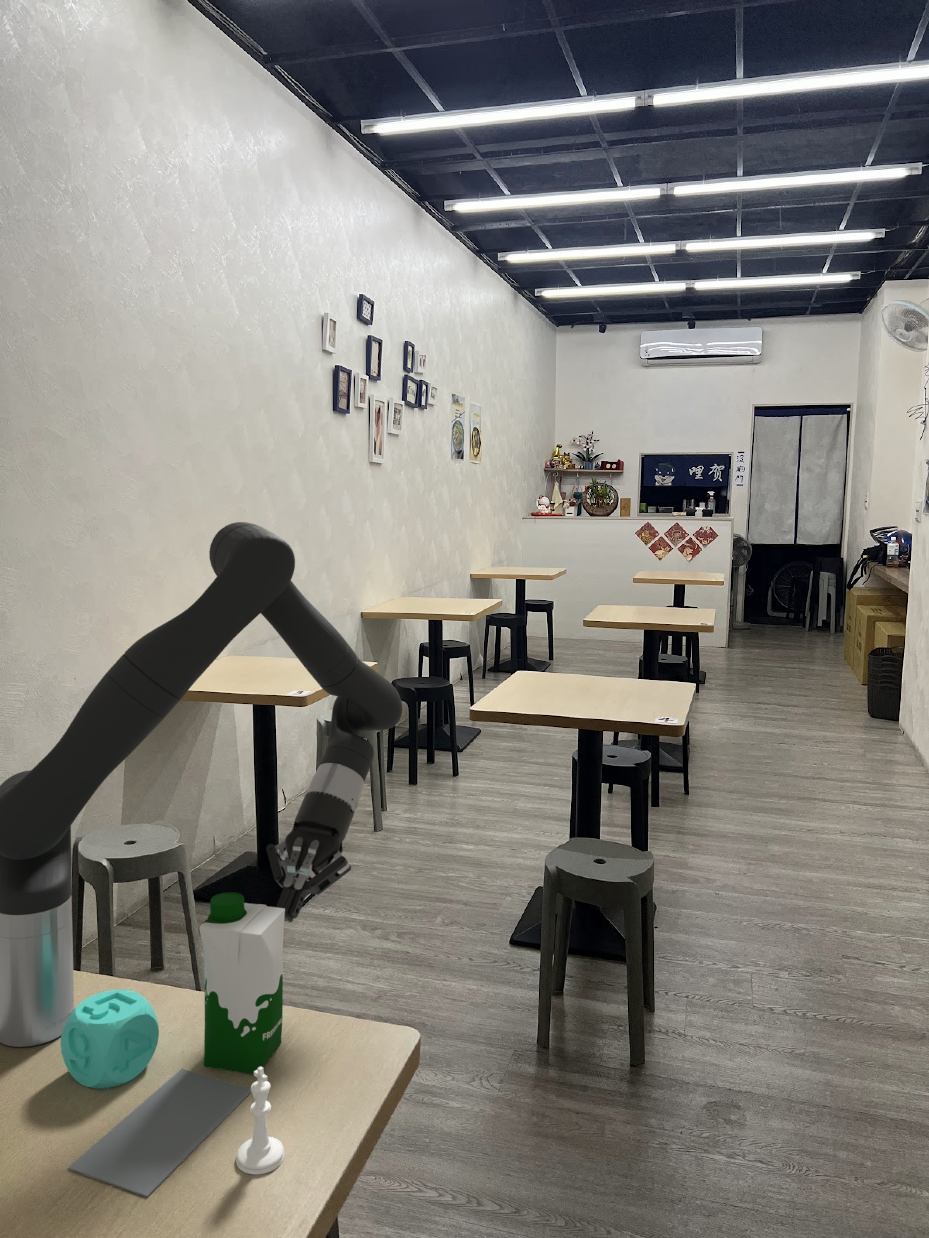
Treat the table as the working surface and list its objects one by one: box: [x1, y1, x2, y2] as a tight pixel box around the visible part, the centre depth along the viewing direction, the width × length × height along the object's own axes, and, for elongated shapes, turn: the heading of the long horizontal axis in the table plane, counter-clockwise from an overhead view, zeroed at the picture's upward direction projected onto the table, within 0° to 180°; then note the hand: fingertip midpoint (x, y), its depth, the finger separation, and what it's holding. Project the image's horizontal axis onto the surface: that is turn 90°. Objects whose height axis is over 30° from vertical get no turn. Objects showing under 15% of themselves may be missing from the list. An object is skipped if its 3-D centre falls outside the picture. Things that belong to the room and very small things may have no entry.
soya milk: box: [199, 891, 285, 1076], centre depth 111 cm, size 9×9×20 cm
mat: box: [67, 1068, 252, 1198], centre depth 98 cm, size 10×18×1 cm, turn 159°
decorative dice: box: [60, 989, 160, 1090], centre depth 108 cm, size 8×8×8 cm
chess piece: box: [235, 1067, 285, 1176], centre depth 94 cm, size 5×5×10 cm
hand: (284, 918), depth 119 cm, fingers closed
